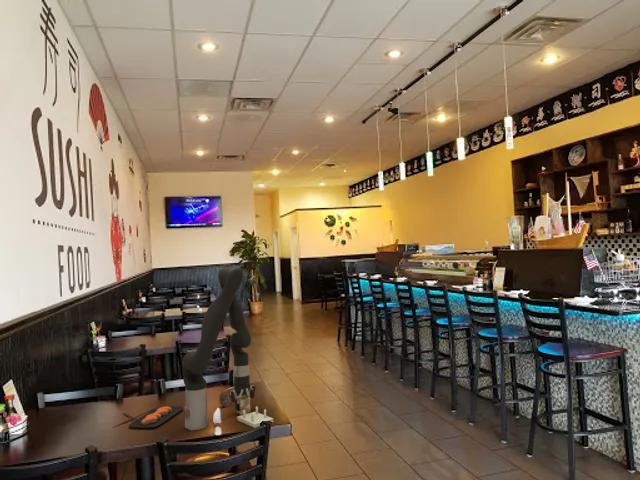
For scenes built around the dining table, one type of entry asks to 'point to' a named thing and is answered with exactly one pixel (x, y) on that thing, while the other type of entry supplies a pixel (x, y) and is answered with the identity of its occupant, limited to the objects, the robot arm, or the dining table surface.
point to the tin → (226, 397)
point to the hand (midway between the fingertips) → (243, 409)
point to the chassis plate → (254, 418)
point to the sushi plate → (153, 417)
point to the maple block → (244, 405)
